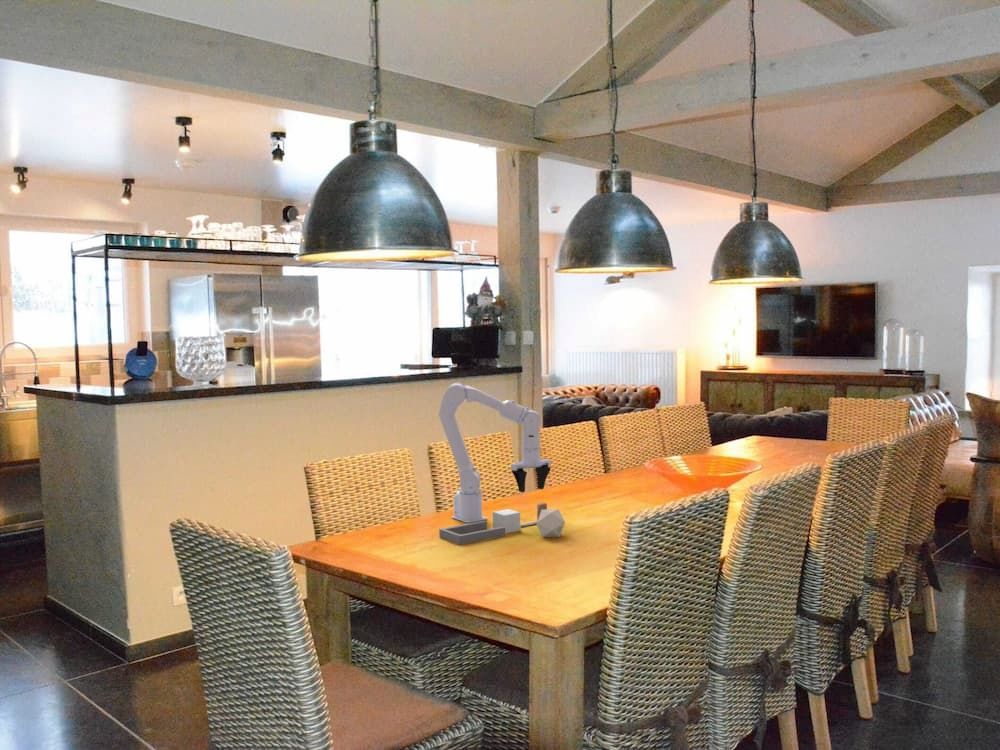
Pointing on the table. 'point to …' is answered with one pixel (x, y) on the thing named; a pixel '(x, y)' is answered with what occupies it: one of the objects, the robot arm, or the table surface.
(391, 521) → the table surface
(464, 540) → the dark grey tray
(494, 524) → the tethered block
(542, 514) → the die
